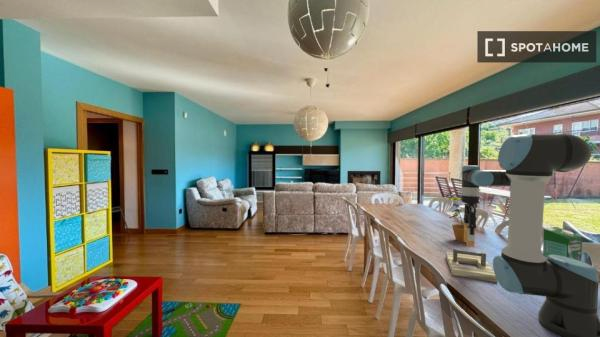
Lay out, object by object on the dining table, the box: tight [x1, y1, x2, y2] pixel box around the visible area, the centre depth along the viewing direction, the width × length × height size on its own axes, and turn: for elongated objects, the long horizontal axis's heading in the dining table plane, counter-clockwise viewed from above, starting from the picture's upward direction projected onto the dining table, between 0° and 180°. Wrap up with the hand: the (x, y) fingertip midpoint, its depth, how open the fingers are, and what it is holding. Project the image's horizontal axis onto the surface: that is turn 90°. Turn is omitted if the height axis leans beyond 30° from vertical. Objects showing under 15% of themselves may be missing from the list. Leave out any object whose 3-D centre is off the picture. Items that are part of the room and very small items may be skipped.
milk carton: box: [542, 226, 583, 262], centre depth 114 cm, size 9×9×25 cm
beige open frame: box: [445, 252, 498, 283], centre depth 131 cm, size 25×18×3 cm
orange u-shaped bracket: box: [463, 223, 475, 248], centre depth 131 cm, size 9×3×9 cm, turn 156°
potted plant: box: [448, 196, 478, 243], centre depth 176 cm, size 18×19×30 cm
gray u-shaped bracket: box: [452, 248, 487, 266], centre depth 131 cm, size 2×14×9 cm, turn 66°
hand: (469, 238), depth 131 cm, fingers closed on orange u-shaped bracket, 9 cm apart
